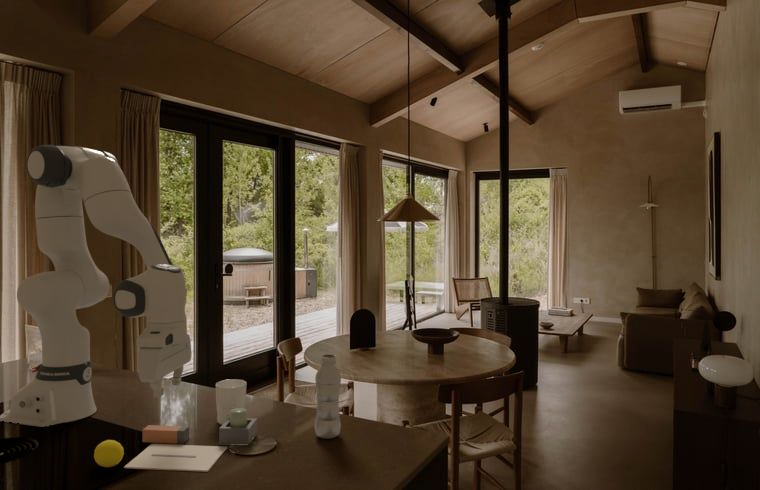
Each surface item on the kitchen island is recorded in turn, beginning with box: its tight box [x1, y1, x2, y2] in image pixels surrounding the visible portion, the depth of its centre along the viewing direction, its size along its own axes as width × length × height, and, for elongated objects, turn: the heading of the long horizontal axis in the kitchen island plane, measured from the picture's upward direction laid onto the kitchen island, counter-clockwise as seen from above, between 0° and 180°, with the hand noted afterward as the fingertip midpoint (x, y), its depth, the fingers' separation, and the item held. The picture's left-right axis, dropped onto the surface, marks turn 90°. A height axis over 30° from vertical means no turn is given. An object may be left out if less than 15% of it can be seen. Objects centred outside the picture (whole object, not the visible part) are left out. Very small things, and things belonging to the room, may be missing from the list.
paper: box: [123, 443, 228, 473], centre depth 117 cm, size 18×12×1 cm, turn 87°
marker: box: [141, 424, 190, 445], centre depth 126 cm, size 10×3×3 cm, turn 87°
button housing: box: [218, 417, 258, 446], centre depth 127 cm, size 7×7×4 cm
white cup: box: [215, 378, 248, 426], centre depth 139 cm, size 8×8×10 cm
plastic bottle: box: [313, 354, 342, 440], centre depth 130 cm, size 6×7×20 cm
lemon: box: [93, 439, 125, 468], centre depth 112 cm, size 7×5×5 cm
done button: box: [230, 408, 248, 428], centre depth 127 cm, size 4×4×5 cm
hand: (167, 390), depth 126 cm, fingers open, 8 cm apart
